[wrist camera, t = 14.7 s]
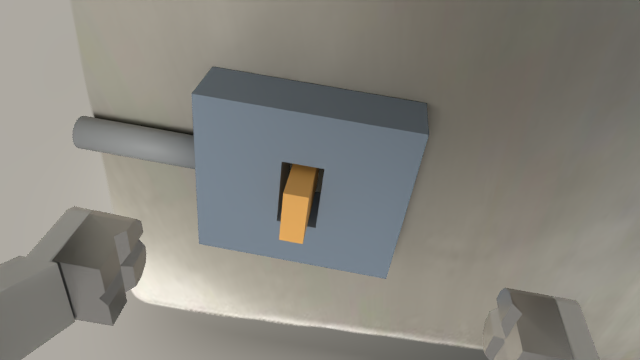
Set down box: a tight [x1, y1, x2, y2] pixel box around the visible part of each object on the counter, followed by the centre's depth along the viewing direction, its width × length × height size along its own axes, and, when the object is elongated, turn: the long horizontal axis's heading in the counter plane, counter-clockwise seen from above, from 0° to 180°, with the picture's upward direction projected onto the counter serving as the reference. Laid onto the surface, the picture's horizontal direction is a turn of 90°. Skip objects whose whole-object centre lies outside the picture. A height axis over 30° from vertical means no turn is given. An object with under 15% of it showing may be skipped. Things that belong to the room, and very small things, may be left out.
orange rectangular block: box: [279, 164, 319, 244], centre depth 42 cm, size 5×2×8 cm, turn 173°
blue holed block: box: [73, 67, 429, 279], centre depth 43 cm, size 30×16×5 cm, turn 83°
